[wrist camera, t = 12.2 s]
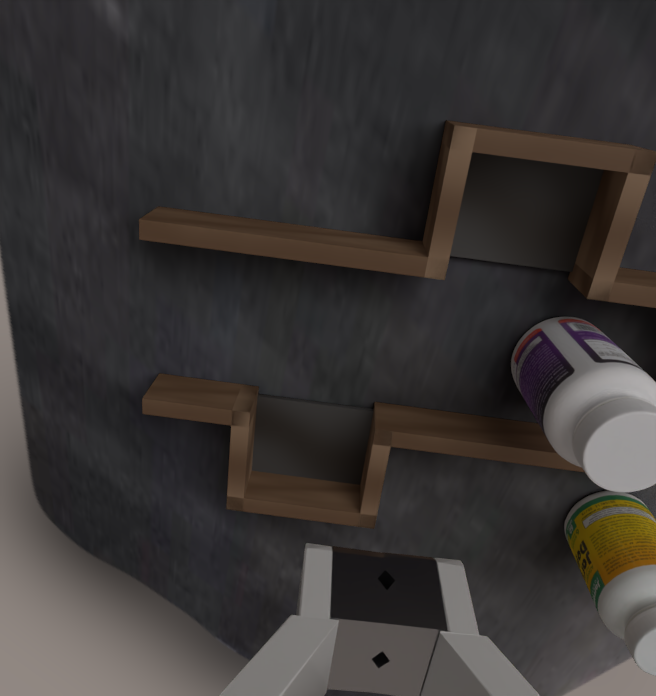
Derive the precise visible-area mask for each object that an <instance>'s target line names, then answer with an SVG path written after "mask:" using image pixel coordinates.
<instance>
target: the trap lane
mask: <svg viewBox="0 0 656 696" xmlns="http://www.w3.org/2000/svg"><path fill="white" fill-rule="evenodd" d="M655 162H656V151H652V150H648V149H644V148H641V147H637V146H633V145H628V144H620V143H613V142H605V141H598V140H590V139H583V138H575V137H568V136H560V135H553V134H545V133H537V132H530V131H522V130H515V129H507V128H500V127H492V126H485V125H477V124H470V123H462V122H455V121H447V120H446V122H445V128H444V133H443V138H442V143H441V148H440V154H439V159H438V164H437V169H436V174H435V179H434V185H433V190H432V195H431V200H430V205H429V211H428V216H427V221H426V226H425V231H424V237H423V241H416V240H408V239H401V238H393V237H386V236H378V235H370V234H363V233H355V232H348V231H340V230H333V229H325V228H318V227H310V226H302V225H295V224H287V223H280V222H272V221H265V220H257V219H250V218H242V217H235V216H227V215H219V214H212V213H204V212H197V211H189V210H182V209H174V208H167V207H157V208H156V209H154V210H153V211H151V212H149V213H148V214H146V215H145V216H143V217H142V218H140V219H139V240H146V241H154V242H162V243H169V244H177V245H184V246H192V247H199V248H207V249H214V250H222V251H229V252H237V253H245V254H252V255H260V256H267V257H275V258H282V259H290V260H297V261H305V262H313V263H320V264H328V265H335V266H343V267H350V268H358V269H365V270H373V271H381V272H388V273H396V274H403V275H411V276H418V277H426V278H433V279H441V280H445V276H446V271H447V267H448V262H449V257H450V256H454V257H462V258H469V259H477V260H484V261H492V262H499V263H507V264H514V265H522V266H530V267H537V268H545V269H552V270H560V271H567V272H570V273H569V276H568V280H569V281H570V282H571V283H572V284H573V285H574V286H575V287H576V288H577V289H578V290H579V291H580V292H581V293H582V294H583V295H584V296H585V297H586V298H587V299H592V300H600V301H607V302H615V303H622V304H630V305H637V306H645V307H652V308H656V272H650V271H642V270H635V269H627V268H620V267H619V266H620V263H621V260H622V258H623V255H624V252H625V249H626V246H627V243H628V240H629V237H630V234H631V231H632V229H633V226H634V223H635V220H636V217H637V214H638V211H639V208H640V205H641V203H642V200H643V197H644V194H645V191H646V188H647V185H648V182H649V179H650V177H651V174H652V171H653V168H654V165H655ZM258 390H259V387H258V386H251V385H243V384H235V383H228V382H220V381H213V380H205V379H198V378H190V377H183V376H175V375H167V374H160V373H159V375H158V376H157V378H156V379H155V381H154V382H153V384H152V385H151V386H150V388H149V389H148V391H147V392H146V394H145V395H144V397H143V398H142V409H143V414H147V415H155V416H162V417H170V418H178V419H185V420H193V421H200V422H208V423H215V424H223V425H231V437H230V454H229V472H228V489H227V506H226V509H229V510H236V511H244V512H251V513H259V514H267V515H274V516H282V517H289V518H297V519H304V520H312V521H320V522H327V523H335V524H342V525H350V526H358V527H365V528H373V529H374V527H375V522H376V517H377V512H378V507H379V502H380V497H381V492H382V487H383V482H384V477H385V472H386V467H387V462H388V457H389V452H390V447H397V448H405V449H412V450H420V451H427V452H435V453H443V454H450V455H458V456H465V457H473V458H480V459H488V460H496V461H503V462H511V463H518V464H526V465H533V466H541V467H549V468H556V469H564V470H571V471H579V472H585V471H584V470H583V468H582V467H579V466H576V465H574V464H572V463H570V462H568V461H567V460H565V459H564V458H562V457H561V456H560V455H559V454H558V453H557V452H556V451H555V450H554V448H553V447H552V445H551V444H550V443H549V441H548V440H547V438H546V436H545V434H544V433H543V431H542V429H541V427H540V425H539V424H538V423H531V422H523V421H515V420H508V419H500V418H493V417H485V416H478V415H470V414H463V413H455V412H447V411H440V410H432V409H425V408H417V407H410V406H402V405H394V404H387V403H379V402H375V403H374V408H373V409H370V408H362V407H354V406H347V405H339V404H332V403H324V402H317V401H309V400H301V399H294V398H286V397H279V396H271V395H264V394H258Z"/></svg>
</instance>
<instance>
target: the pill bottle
mask: <svg viewBox="0 0 656 696" xmlns="http://www.w3.org/2000/svg"><path fill="white" fill-rule="evenodd" d="M511 371H512V376H513V379H514V381H515V384H516V386H517V388H518V389H519V391H520V393H521V395H522V396H523V398H524V400H525V401H526V403H527V405H528V406H529V408H530V410H531V412H532V413H533V415H534V417H535V419H536V420H537V422H538V424H539V425H540V427H541V429H542V431H543V433H544V434H545V436H546V438H547V440H548V441H549V443H550V444H551V445H552V447H553V448H554V450H555V451H556V452H557V453H558V454H559V455H560V456H561V457H562V458H564V459H565V460H567V461H568V462H570V463H572V464H574V465H576V466H579V467H582V468H583V470H584V471H585V473H586V474H587V476H588V477H589V478H590V479H591V480H592V481H593V482H594V483H595V484H597V485H598V486H600V487H602V488H604V489H606V490H609V491H614V492H633V491H639V490H642V489H645V488H648V487H650V486H652V485H654V484H656V382H655V381H654V380H653V379H652V378H651V377H650V376H649V375H648V374H647V373H646V372H645V371H644V370H643V369H642V368H641V367H640V366H638V365H637V364H636V363H635V362H634V361H633V360H632V359H631V358H630V357H629V356H628V355H627V354H626V353H624V352H623V351H622V350H621V349H620V348H619V347H618V346H617V345H616V344H615V343H614V342H613V341H611V340H610V339H609V338H608V337H607V336H606V335H605V334H604V333H603V332H602V331H600V330H599V329H598V328H597V327H595V326H594V325H593V324H591V323H589V322H587V321H585V320H583V319H580V318H576V317H567V316H565V317H556V318H551V319H548V320H545V321H542V322H540V323H538V324H537V325H535V326H534V327H532V328H531V329H530V330H528V331H527V332H526V333H525V334H524V335H523V336H522V337H521V339H520V340H519V342H518V343H517V345H516V347H515V349H514V351H513V354H512V359H511Z"/></svg>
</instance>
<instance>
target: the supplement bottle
mask: <svg viewBox="0 0 656 696" xmlns="http://www.w3.org/2000/svg"><path fill="white" fill-rule="evenodd" d="M564 531H565V535H566V538H567V541H568V544H569V546H570V548H571V550H572V553H573V555H574V557H575V560H576V562H577V564H578V567H579V569H580V571H581V573H582V576H583V578H584V580H585V582H586V585H587V587H588V589H589V591H590V594H591V596H592V599H593V601H594V603H595V606H596V608H597V611H598V613H599V615H600V617H601V619H602V621H603V623H604V624H605V625H606V627H607V628H608V629H609V630H610V631H611V632H612V633H613V634H615V635H616V636H617V637H619V638H621V639H623V640H625V643H626V646H627V648H628V649H629V651H630V653H631V655H632V657H633V659H634V661H635V663H636V664H637V665H638V667H639V668H640V669H642V670H643V671H644V672H646V673H649V674H651V675H654V676H656V520H655V518H654V517H653V515H652V514H651V512H650V511H649V509H648V508H647V506H646V505H645V504H644V503H643V502H642V501H641V500H639V499H638V498H636V497H634V496H632V495H630V494H627V493H624V492H614V491H602V492H597V493H594V494H591V495H589V496H587V497H585V498H583V499H582V500H580V501H579V502H577V503H576V504H575V505H574V506H573V508H572V509H571V510H570V512H569V513H568V515H567V518H566V520H565V523H564Z"/></svg>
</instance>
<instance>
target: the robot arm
mask: <svg viewBox="0 0 656 696" xmlns="http://www.w3.org/2000/svg"><path fill="white" fill-rule="evenodd" d="M327 689H334V690H347V691H361V692H373V693H380V694H388V695H395V696H540V695H539V694H538V693H537V692H536V691H535V689H534V688H533V687H532V686H531V685H530V684H529V683H528V682H527V680H526V679H525V678H524V677H523V676H522V675H521V674H520V673H519V671H518V670H517V669H516V668H515V667H514V666H513V665H512V664H511V662H510V661H509V660H508V659H507V658H506V657H505V656H504V655H503V653H502V652H501V651H500V650H499V649H498V648H497V647H496V646H495V644H494V643H493V642H492V641H491V640H490V639H489V638H488V637H487V636H481V635H479V632H478V627H477V623H476V618H475V614H474V610H473V605H472V601H471V596H470V592H469V587H468V583H467V578H466V574H465V570H464V565H463V563H462V562H461V561H460V560H453V559H443V558H432V557H423V556H413V555H403V554H393V553H383V552H382V553H380V552H372V551H365V550H358V549H350V548H343V547H336V546H333V547H332V546H324V545H317V544H310V543H306V546H305V552H304V559H303V567H302V574H301V581H300V589H299V597H298V605H297V612H296V615H290V617H289V618H288V619H287V620H286V621H285V622H284V623H283V624H282V626H281V627H280V628H279V629H278V630H277V631H276V632H275V633H274V634H273V636H272V637H271V638H270V639H269V640H268V641H267V642H266V643H265V645H264V646H263V647H262V648H261V649H260V650H259V651H258V652H257V654H256V655H255V656H254V657H253V658H252V659H251V660H250V661H249V663H248V664H247V665H246V666H245V667H244V668H243V669H242V670H241V672H240V673H239V674H238V675H237V676H236V677H235V678H234V679H233V681H232V682H231V683H230V684H229V685H228V686H227V687H226V688H225V689H224V691H223V692H222V693H221V694H220V695H219V696H324V695H325V693H326V691H327Z"/></svg>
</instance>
